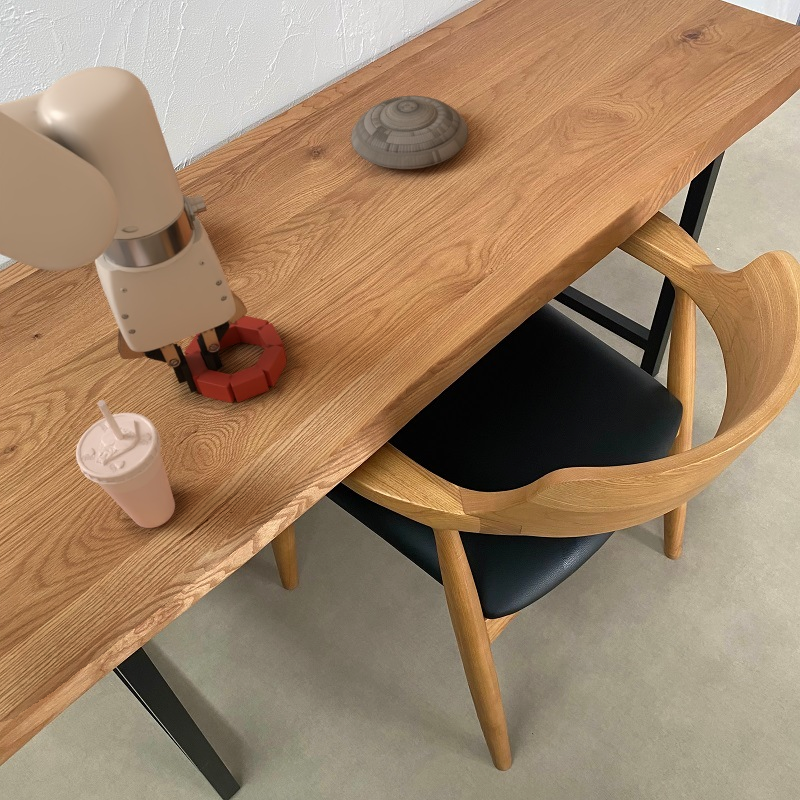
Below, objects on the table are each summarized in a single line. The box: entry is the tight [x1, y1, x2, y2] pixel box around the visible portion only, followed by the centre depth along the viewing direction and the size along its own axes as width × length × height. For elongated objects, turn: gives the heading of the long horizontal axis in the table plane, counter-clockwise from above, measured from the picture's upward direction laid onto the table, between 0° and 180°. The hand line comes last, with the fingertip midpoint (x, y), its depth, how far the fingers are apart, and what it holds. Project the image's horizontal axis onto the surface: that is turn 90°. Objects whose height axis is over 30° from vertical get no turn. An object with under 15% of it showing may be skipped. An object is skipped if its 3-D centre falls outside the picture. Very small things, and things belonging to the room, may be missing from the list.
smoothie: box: [75, 399, 176, 529], centre depth 64 cm, size 6×6×14 cm
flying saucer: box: [350, 95, 469, 170], centre depth 100 cm, size 15×15×6 cm
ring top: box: [184, 315, 288, 404], centre depth 78 cm, size 9×9×2 cm
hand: (202, 376), depth 78 cm, fingers closed on ring top
